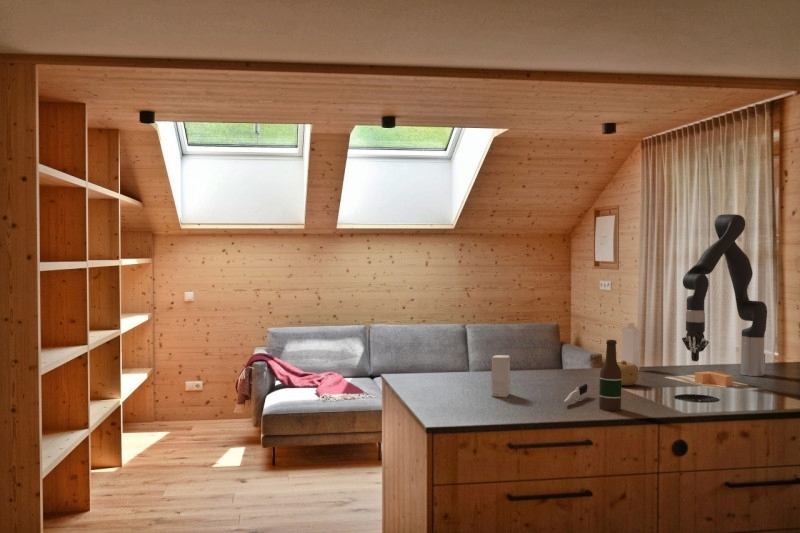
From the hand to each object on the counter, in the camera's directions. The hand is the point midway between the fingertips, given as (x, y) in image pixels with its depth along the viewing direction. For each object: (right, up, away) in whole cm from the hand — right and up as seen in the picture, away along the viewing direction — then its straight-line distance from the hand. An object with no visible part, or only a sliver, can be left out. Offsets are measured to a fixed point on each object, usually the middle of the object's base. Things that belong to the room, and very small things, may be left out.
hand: (695, 360), depth 308 cm
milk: (-20, -8, +24) cm, 32 cm away
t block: (+4, -8, -11) cm, 15 cm away
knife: (-62, -9, -46) cm, 78 cm away
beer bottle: (-53, -10, -57) cm, 78 cm away
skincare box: (-88, -9, -35) cm, 95 cm away
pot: (-34, -9, -11) cm, 37 cm away
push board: (+2, -9, -6) cm, 10 cm away
